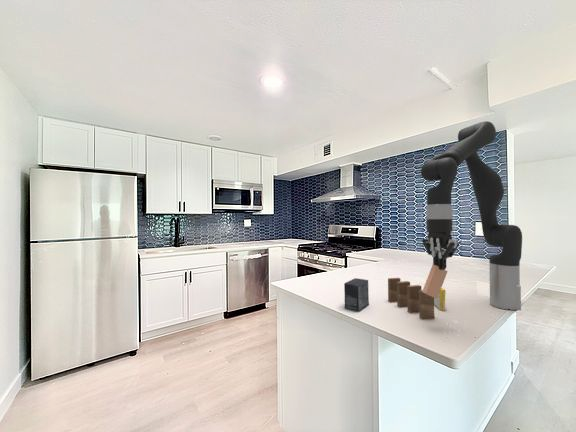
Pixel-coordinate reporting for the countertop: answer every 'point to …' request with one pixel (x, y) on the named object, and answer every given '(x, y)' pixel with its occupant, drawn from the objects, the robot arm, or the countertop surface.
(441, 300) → the candy box
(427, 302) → the domino
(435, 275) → the domino
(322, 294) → the countertop surface
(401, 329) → the countertop surface
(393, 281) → the domino
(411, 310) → the domino
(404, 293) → the domino
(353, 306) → the small box
